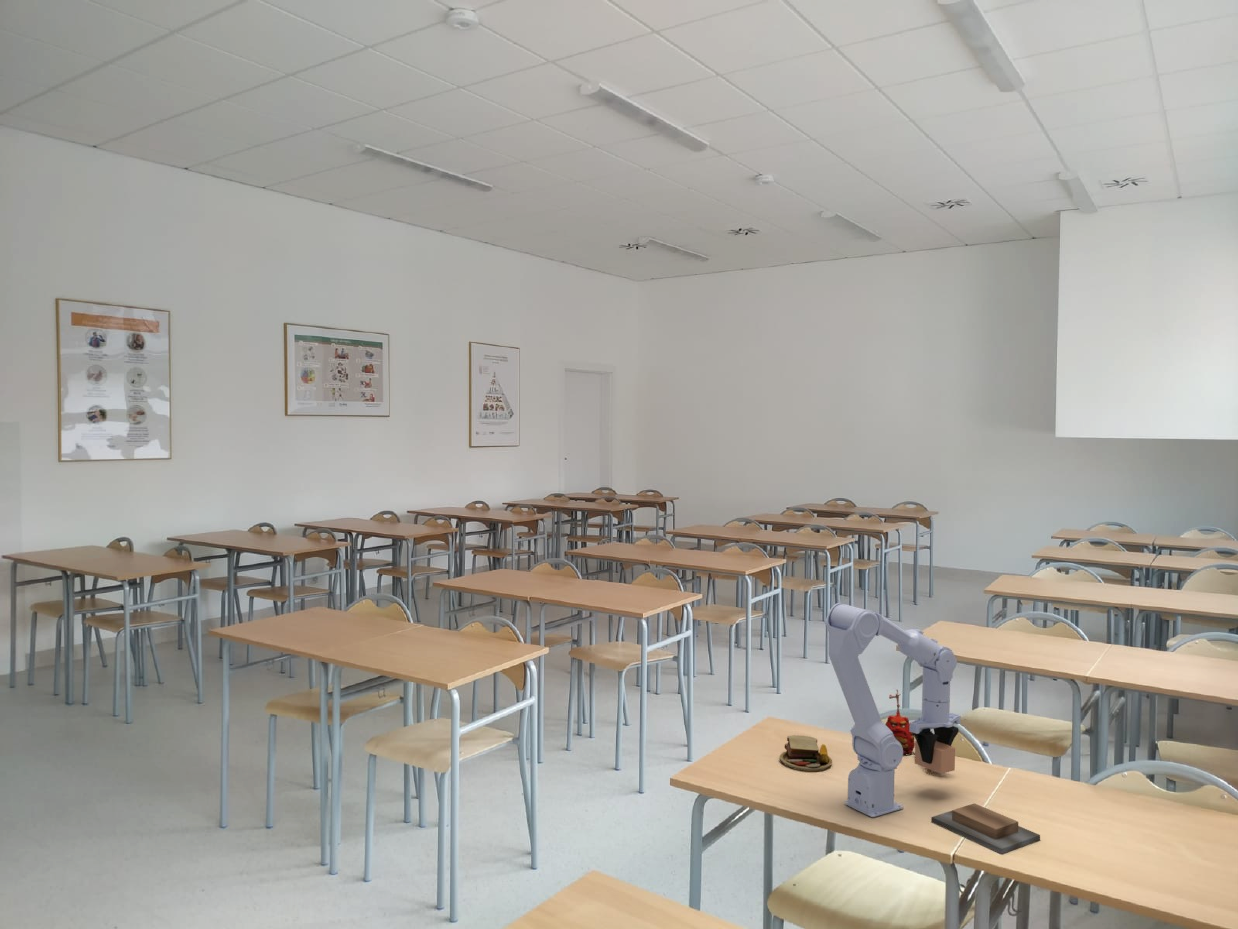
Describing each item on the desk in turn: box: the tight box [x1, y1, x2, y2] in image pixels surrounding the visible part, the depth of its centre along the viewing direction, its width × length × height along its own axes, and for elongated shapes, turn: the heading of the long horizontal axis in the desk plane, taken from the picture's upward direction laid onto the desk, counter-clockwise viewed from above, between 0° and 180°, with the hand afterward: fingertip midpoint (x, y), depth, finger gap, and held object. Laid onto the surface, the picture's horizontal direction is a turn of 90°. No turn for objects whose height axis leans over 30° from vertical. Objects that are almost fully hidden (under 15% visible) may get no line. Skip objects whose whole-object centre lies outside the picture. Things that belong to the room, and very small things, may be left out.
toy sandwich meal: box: [779, 734, 833, 772], centre depth 207 cm, size 12×14×5 cm
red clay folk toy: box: [884, 689, 915, 756], centre depth 215 cm, size 8×7×15 cm
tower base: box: [930, 803, 1041, 855], centre depth 170 cm, size 12×16×3 cm
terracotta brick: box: [914, 740, 956, 775], centre depth 187 cm, size 4×7×5 cm, turn 31°
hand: (934, 760), depth 187 cm, fingers closed on terracotta brick, 4 cm apart
